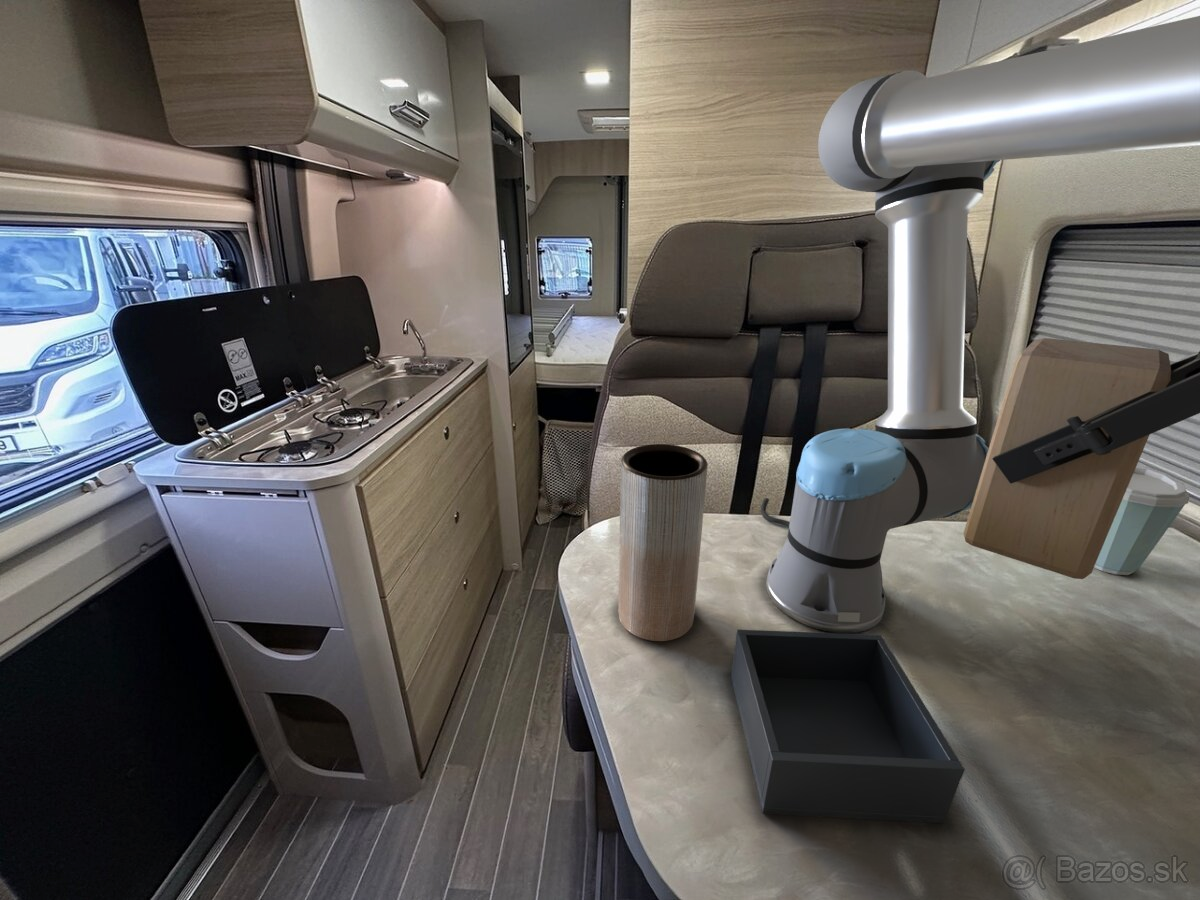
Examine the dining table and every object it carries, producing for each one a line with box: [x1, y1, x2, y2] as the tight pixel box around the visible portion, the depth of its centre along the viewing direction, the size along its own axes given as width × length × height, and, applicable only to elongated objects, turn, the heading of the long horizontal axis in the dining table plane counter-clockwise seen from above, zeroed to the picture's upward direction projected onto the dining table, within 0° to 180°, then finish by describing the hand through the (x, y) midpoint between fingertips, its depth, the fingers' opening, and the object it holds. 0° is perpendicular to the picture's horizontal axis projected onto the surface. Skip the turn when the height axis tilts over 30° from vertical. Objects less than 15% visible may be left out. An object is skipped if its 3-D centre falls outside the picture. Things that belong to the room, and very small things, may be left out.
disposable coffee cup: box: [1093, 464, 1190, 576], centre depth 79 cm, size 11×11×15 cm
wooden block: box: [963, 337, 1171, 580], centre depth 51 cm, size 10×10×20 cm
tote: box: [730, 629, 965, 824], centre depth 52 cm, size 16×16×7 cm
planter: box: [617, 443, 708, 642], centre depth 66 cm, size 10×10×23 cm
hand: (1019, 454), depth 53 cm, fingers closed on wooden block, 11 cm apart
